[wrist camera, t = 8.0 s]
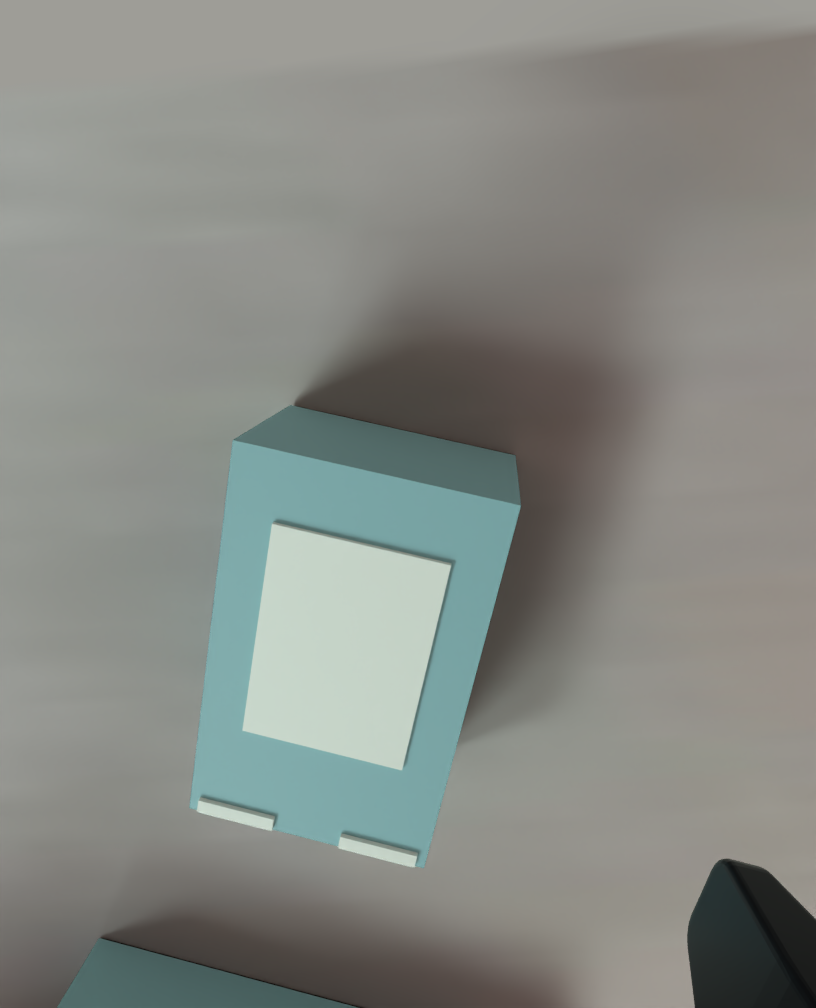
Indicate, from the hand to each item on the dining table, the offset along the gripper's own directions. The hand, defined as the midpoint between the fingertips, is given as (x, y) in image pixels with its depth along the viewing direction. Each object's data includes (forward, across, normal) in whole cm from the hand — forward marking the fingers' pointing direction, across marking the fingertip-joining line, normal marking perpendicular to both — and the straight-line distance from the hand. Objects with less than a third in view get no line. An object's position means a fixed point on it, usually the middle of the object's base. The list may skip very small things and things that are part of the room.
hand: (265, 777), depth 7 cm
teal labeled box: (+9, 0, +2) cm, 9 cm away
